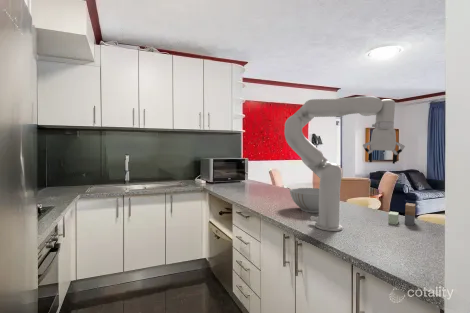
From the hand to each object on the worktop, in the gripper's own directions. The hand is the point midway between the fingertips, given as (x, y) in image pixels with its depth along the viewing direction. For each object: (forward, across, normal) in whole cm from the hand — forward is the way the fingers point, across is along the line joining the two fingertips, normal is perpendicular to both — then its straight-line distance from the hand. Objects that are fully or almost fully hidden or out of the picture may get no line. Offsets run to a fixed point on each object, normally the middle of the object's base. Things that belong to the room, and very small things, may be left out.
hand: (382, 162), depth 124 cm
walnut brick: (+27, +12, +24) cm, 38 cm away
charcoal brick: (+32, +12, +24) cm, 41 cm away
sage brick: (+32, +5, +21) cm, 38 cm away
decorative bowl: (+33, -39, +20) cm, 55 cm away
